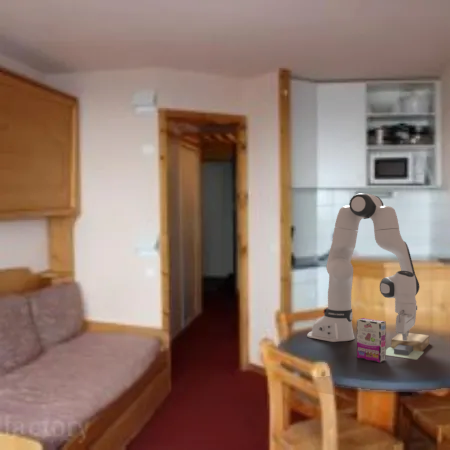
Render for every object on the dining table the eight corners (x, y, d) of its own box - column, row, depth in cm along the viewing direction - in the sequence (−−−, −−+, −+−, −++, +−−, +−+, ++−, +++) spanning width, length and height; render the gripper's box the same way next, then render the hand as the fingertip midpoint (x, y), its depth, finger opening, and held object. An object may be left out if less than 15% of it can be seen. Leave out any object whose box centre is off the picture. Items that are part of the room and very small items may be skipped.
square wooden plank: (391, 348, 247) (391, 339, 247) (400, 340, 261) (400, 332, 260) (421, 352, 240) (421, 343, 240) (429, 344, 254) (429, 335, 254)
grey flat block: (393, 353, 237) (394, 348, 237) (399, 348, 245) (399, 344, 245) (408, 355, 234) (408, 350, 234) (413, 350, 242) (413, 345, 242)
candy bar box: (386, 360, 228) (386, 321, 227) (380, 363, 224) (380, 323, 224) (362, 355, 236) (362, 317, 235) (356, 357, 232) (356, 319, 232)
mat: (380, 354, 236) (380, 354, 236) (389, 347, 247) (389, 347, 247) (416, 359, 229) (416, 359, 229) (423, 352, 240) (423, 351, 240)
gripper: (407, 313, 231) (406, 346, 232) (418, 305, 248) (418, 335, 249) (391, 311, 234) (391, 344, 235) (403, 304, 252) (403, 334, 252)
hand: (405, 339), depth 242 cm, fingers closed
